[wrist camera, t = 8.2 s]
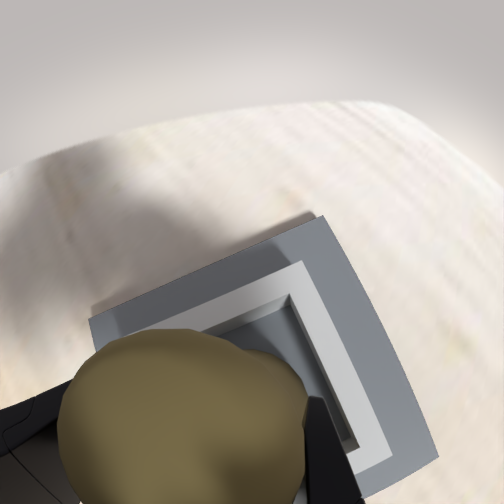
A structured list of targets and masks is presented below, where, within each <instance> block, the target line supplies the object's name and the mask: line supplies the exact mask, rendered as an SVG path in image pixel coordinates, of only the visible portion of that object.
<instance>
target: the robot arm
mask: <svg viewBox="0 0 504 504" xmlns="http://www.w3.org/2000/svg"><path fill="white" fill-rule="evenodd" d="M72 380H73V379H71V380H69V381H67V382H65V383H63V384H61V385H58V386H56V387H54V388H52V389H50V390H47V391H45V392H43V393H41V394H39V395H37V396H36V397H32V398H30V399H27V400H25V401H23V402H20V403H18V404H15V405H13V406H10V407H7V408H4V409H1V410H0V504H79V503H80V502H81V500H80V499H79V497H78V496H77V494H76V493H75V491H74V490H73V488H72V487H71V485H70V483H69V481H68V478H67V475H66V472H65V470H64V467H63V464H62V461H61V458H60V455H59V446H58V433H57V421H58V416H59V412H60V407H61V403H62V399H63V395H64V393H65V391H66V390H67V388H68V386H69V385H70V383H71V381H72ZM302 428H303V431H304V451H305V474H304V476H303V479H302V482H301V484H300V487H299V490H298V492H297V495H296V497H295V500H294V502H293V504H366V503H365V501H364V498H361V497H362V493H361V491H360V488H359V486H358V483H357V480H356V478H355V475H354V473H353V470H352V467H351V465H350V462H349V460H348V457H347V455H346V452H345V449H344V447H343V444H342V442H341V439H340V437H339V434H338V432H337V429H336V426H335V424H334V421H333V419H332V416H331V414H330V411H329V409H328V406H327V404H326V401H325V399H324V398H323V397H320V396H313V395H311V396H309V397H308V400H307V404H306V408H305V411H304V415H303V420H302Z"/></svg>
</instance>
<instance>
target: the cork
mask: <svg viewBox="0 0 504 504" xmlns="http://www.w3.org/2000/svg"><path fill="white" fill-rule="evenodd" d="M307 400H308V394H307V392H306V389H305V387H304V384H303V381H302V379H301V378H300V377H299V375H298V374H297V373H296V372H295V371H294V369H293V368H292V367H291V366H290V365H289V364H288V363H286V362H285V361H283V360H281V359H280V358H278V357H277V356H275V355H274V354H271V353H267V352H263V351H259V350H256V349H243V350H241V349H240V348H238V347H237V346H235V345H234V344H232V343H231V342H229V341H228V340H225V339H222V338H218V337H215V336H211V335H208V334H205V333H202V332H198V331H195V330H192V329H149V330H143V331H139V332H137V333H134V334H131V335H128V336H125V337H122V338H119V339H116V340H113V341H111V342H109V343H107V344H106V345H105V346H104V347H102V348H101V349H100V350H99V351H98V352H96V353H95V354H94V355H93V356H91V357H90V358H89V359H88V360H86V361H85V362H84V364H83V365H82V366H81V367H80V369H79V370H78V371H77V373H76V375H75V376H74V378H73V380H72V381H71V383H70V385H69V386H68V388H67V390H66V391H65V393H64V395H63V399H62V403H61V407H60V412H59V416H58V421H57V433H58V446H59V455H60V458H61V461H62V464H63V467H64V470H65V472H66V475H67V478H68V481H69V483H70V485H71V487H72V488H73V490H74V491H75V493H76V494H77V496H78V497H79V499H80V500H81V502H82V503H83V504H293V502H294V500H295V497H296V495H297V492H298V490H299V487H300V484H301V482H302V479H303V476H304V474H305V451H304V431H303V428H302V420H303V415H304V411H305V408H306V404H307Z"/></svg>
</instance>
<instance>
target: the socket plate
mask: <svg viewBox="0 0 504 504" xmlns="http://www.w3.org/2000/svg"><path fill="white" fill-rule="evenodd" d="M88 320H89V324H90V329H91V333H92V338H93V342H94V346H95V350H96V352H98V351H99V350H100V349H101V348H102V347H104V346H105V345H106V344H107V343H109V342H111V341H113V340H116V339H119V338H122V337H125V336H128V335H131V334H134V333H137V332H139V331H143V330H149V329H192V330H195V331H198V332H202V333H205V334H208V335H211V336H215V337H218V338H222V339H225V340H228V341H229V342H231V343H232V344H234V345H235V346H237V347H238V348H240V349H241V350H243V349H256V350H259V351H263V352H267V353H271V354H274V355H275V356H277V357H278V358H280V359H281V360H283V361H285V362H286V363H288V364H289V365H290V366H291V367H292V368H293V369H294V371H295V372H296V373H297V374H298V375H299V377H300V378H301V379H302V381H303V384H304V387H305V389H306V392H307V394H308V397H309V396H311V395H313V396H320V397H323V398H324V399H325V401H326V404H327V406H328V409H329V411H330V414H331V416H332V419H333V421H334V424H335V426H336V429H337V432H338V434H339V437H340V439H341V442H342V444H343V447H344V449H345V452H346V455H347V457H348V460H349V462H350V465H351V467H352V470H353V473H354V475H355V478H356V480H357V483H358V486H359V488H360V491H361V493H362V497H361V498H364V499H365V498H367V497H369V496H371V495H373V494H375V493H377V492H379V491H381V490H383V489H385V488H387V487H389V486H391V485H393V484H395V483H396V482H398V481H400V480H402V479H404V478H405V477H407V476H409V475H411V474H412V473H414V472H416V471H417V470H419V469H421V468H422V467H424V466H425V465H427V464H429V463H430V462H432V461H433V460H435V459H436V458H438V457H439V455H438V452H437V450H436V447H435V444H434V442H433V439H432V437H431V434H430V431H429V429H428V426H427V424H426V421H425V419H424V416H423V414H422V412H421V409H420V407H419V404H418V402H417V400H416V397H415V395H414V393H413V390H412V388H411V386H410V383H409V381H408V379H407V377H406V374H405V372H404V370H403V368H402V365H401V363H400V361H399V359H398V357H397V355H396V352H395V350H394V348H393V346H392V344H391V342H390V340H389V338H388V336H387V334H386V332H385V329H384V327H383V325H382V323H381V321H380V319H379V317H378V315H377V313H376V311H375V309H374V307H373V305H372V303H371V301H370V300H369V298H368V296H367V294H366V292H365V290H364V288H363V286H362V284H361V282H360V280H359V279H358V277H357V275H356V273H355V271H354V269H353V267H352V266H351V264H350V262H349V260H348V258H347V256H346V255H345V253H344V251H343V249H342V247H341V246H340V244H339V242H338V240H337V239H336V237H335V235H334V233H333V232H332V230H331V228H330V226H329V225H328V223H327V221H326V219H325V218H324V216H323V215H322V216H320V217H318V218H315V219H313V220H311V221H308V222H306V223H304V224H302V225H299V226H297V227H295V228H292V229H290V230H288V231H286V232H283V233H281V234H279V235H277V236H274V237H272V238H270V239H267V240H265V241H263V242H261V243H258V244H256V245H254V246H251V247H249V248H247V249H245V250H242V251H240V252H238V253H236V254H233V255H231V256H229V257H227V258H224V259H222V260H220V261H217V262H215V263H213V264H211V265H208V266H206V267H204V268H202V269H199V270H197V271H195V272H193V273H190V274H188V275H186V276H184V277H181V278H179V279H177V280H175V281H172V282H170V283H168V284H166V285H163V286H161V287H159V288H157V289H154V290H152V291H150V292H148V293H145V294H143V295H141V296H139V297H136V298H134V299H132V300H130V301H127V302H125V303H123V304H121V305H118V306H116V307H114V308H112V309H109V310H107V311H105V312H103V313H101V314H98V315H96V316H94V317H92V318H89V319H88Z"/></svg>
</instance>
